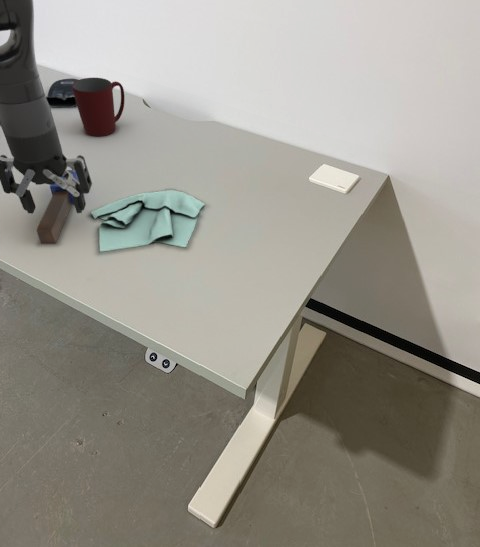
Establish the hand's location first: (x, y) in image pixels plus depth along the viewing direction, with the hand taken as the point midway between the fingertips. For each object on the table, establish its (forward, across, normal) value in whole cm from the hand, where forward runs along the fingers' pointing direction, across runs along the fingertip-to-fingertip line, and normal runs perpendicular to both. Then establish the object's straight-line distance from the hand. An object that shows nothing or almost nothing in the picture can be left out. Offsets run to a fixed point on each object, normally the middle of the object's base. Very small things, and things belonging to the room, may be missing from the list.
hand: (56, 210), depth 76 cm
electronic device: (+3, +12, -58) cm, 59 cm away
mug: (+3, -2, -39) cm, 39 cm away
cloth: (+3, -16, -1) cm, 16 cm away
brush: (+3, 0, -3) cm, 4 cm away
